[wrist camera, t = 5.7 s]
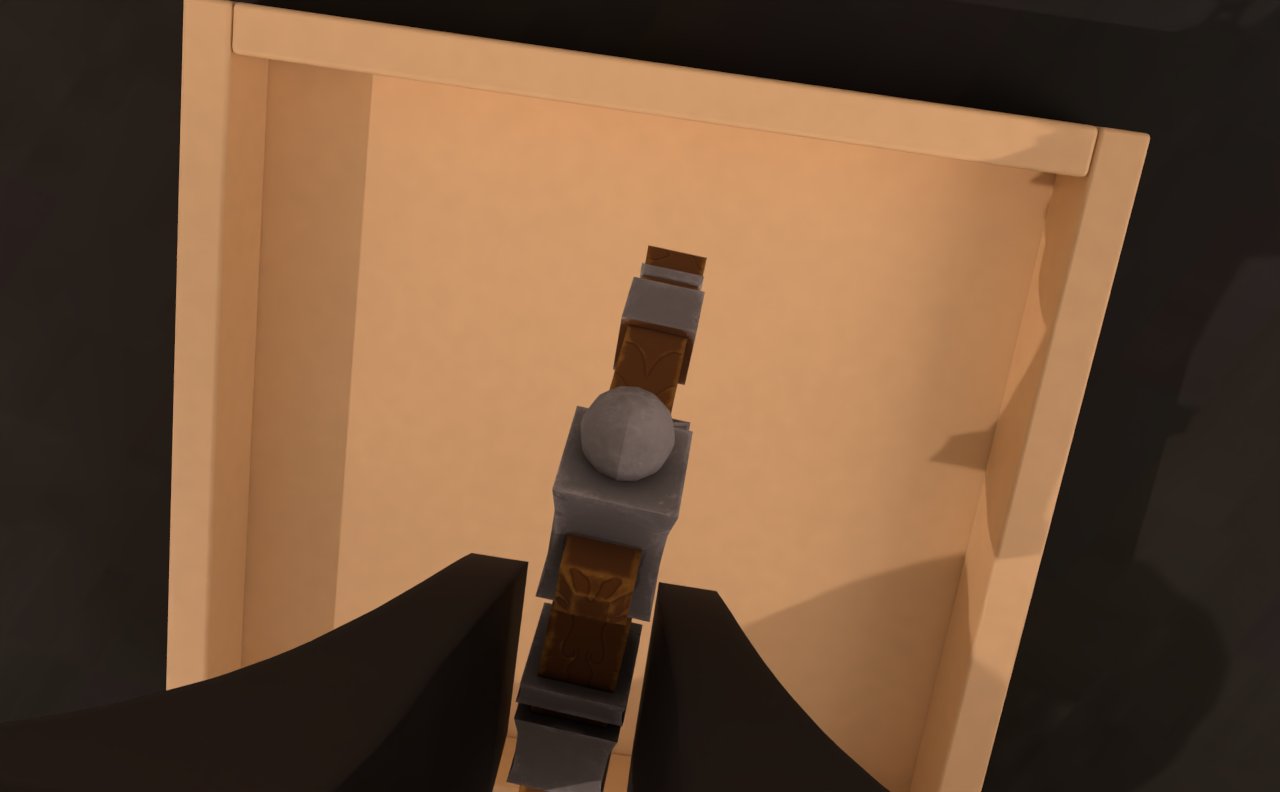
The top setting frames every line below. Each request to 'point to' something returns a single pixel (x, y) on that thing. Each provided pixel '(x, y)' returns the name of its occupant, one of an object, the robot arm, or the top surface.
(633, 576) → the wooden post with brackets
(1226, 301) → the top surface
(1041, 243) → the tray
